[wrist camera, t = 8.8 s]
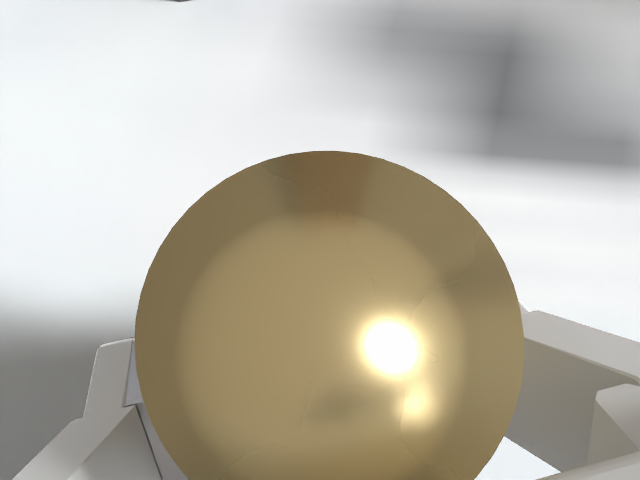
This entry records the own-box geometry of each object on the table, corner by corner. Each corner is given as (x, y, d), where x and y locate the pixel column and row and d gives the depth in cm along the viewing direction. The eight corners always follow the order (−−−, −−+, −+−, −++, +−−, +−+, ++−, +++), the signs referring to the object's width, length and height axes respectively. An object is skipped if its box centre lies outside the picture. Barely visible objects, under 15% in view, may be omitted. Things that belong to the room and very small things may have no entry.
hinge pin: (396, 402, 15) (601, 336, 5) (295, 505, 14) (326, 645, 4) (303, 303, 15) (337, 87, 6) (201, 396, 15) (52, 314, 5)
